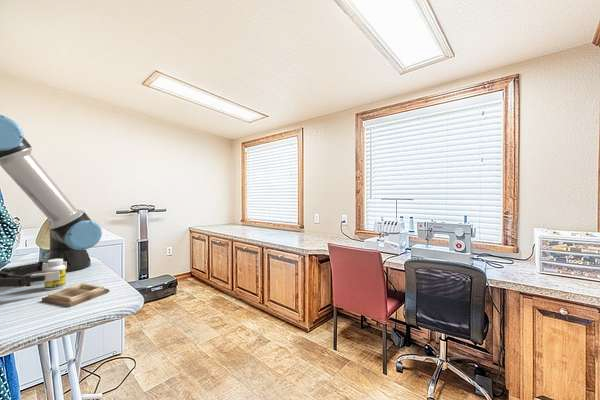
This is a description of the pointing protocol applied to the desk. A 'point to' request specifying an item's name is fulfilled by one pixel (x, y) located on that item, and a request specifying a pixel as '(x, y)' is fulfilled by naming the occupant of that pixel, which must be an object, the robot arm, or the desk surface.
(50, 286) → the supplement bottle
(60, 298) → the walnut board
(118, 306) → the desk surface
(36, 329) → the desk surface
